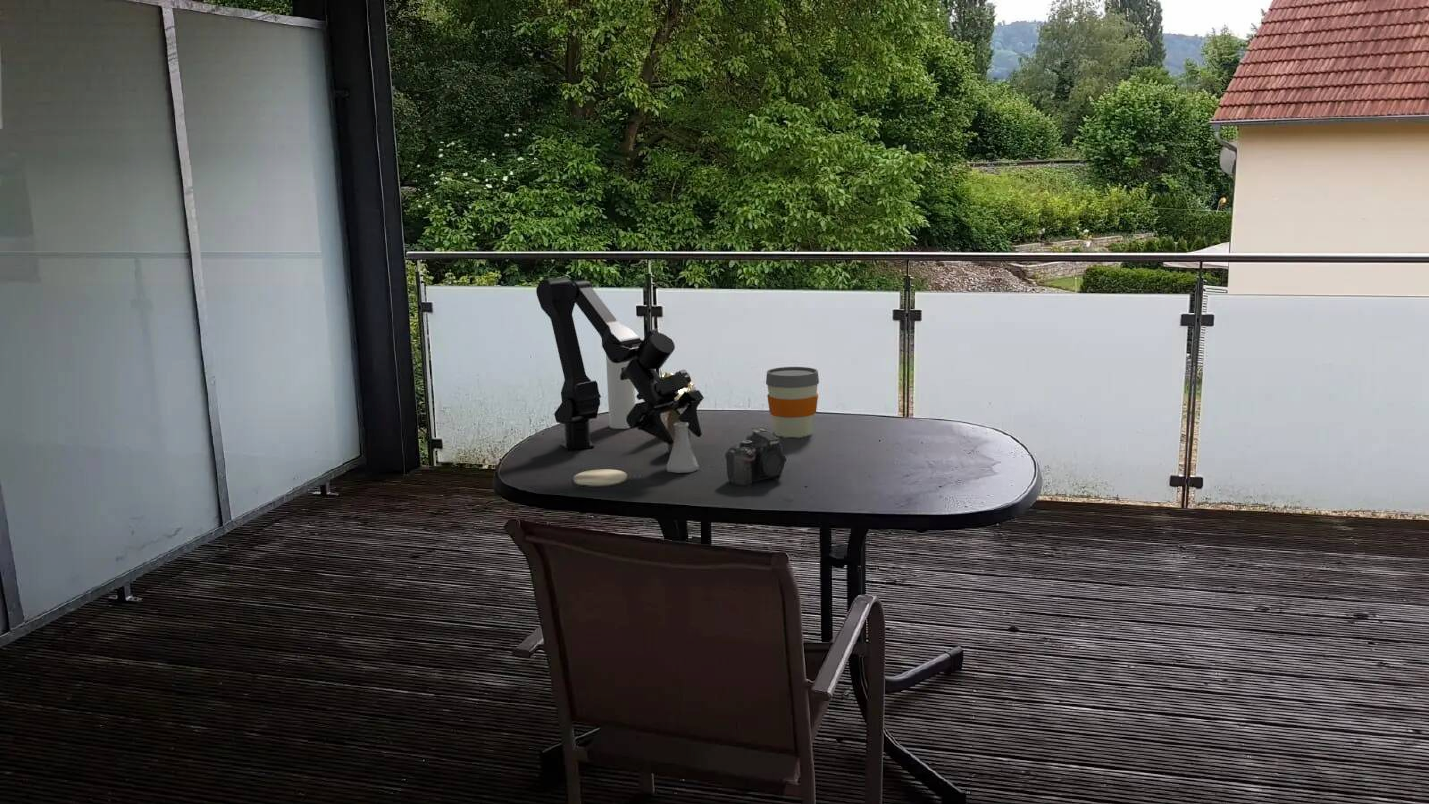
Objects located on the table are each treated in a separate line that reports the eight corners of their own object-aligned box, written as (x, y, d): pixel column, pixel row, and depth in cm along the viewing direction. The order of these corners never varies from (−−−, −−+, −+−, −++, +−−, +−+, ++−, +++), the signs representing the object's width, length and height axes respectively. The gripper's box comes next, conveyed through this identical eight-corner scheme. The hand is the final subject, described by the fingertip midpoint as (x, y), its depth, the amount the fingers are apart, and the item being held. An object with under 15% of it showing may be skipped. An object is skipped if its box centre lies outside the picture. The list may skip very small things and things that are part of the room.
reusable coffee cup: (828, 430, 274) (828, 368, 271) (804, 441, 264) (803, 377, 261) (783, 425, 281) (781, 365, 278) (757, 436, 271) (755, 373, 268)
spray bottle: (635, 428, 282) (630, 328, 277) (608, 429, 282) (603, 328, 277) (637, 422, 289) (633, 324, 284) (610, 423, 289) (606, 325, 284)
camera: (763, 490, 226) (762, 441, 224) (721, 483, 232) (719, 435, 230) (796, 474, 237) (795, 427, 235) (755, 468, 243) (754, 422, 241)
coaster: (568, 475, 241) (568, 472, 241) (619, 469, 244) (619, 467, 244) (580, 488, 231) (580, 486, 231) (632, 482, 234) (632, 479, 234)
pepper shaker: (665, 450, 260) (663, 405, 258) (686, 447, 262) (685, 403, 259) (672, 455, 255) (670, 409, 253) (693, 452, 257) (691, 407, 255)
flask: (695, 474, 239) (694, 427, 237) (662, 473, 241) (660, 427, 238) (703, 465, 246) (701, 420, 244) (670, 464, 247) (668, 419, 245)
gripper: (633, 365, 234) (673, 425, 229) (696, 352, 248) (735, 408, 243) (609, 398, 241) (647, 457, 236) (671, 384, 255) (709, 439, 250)
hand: (686, 439), depth 241 cm, fingers open, 8 cm apart
